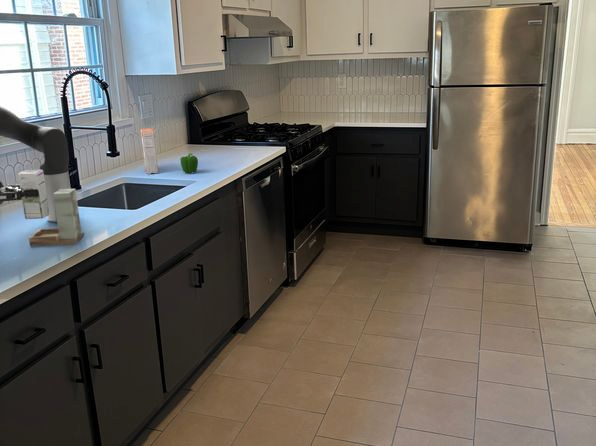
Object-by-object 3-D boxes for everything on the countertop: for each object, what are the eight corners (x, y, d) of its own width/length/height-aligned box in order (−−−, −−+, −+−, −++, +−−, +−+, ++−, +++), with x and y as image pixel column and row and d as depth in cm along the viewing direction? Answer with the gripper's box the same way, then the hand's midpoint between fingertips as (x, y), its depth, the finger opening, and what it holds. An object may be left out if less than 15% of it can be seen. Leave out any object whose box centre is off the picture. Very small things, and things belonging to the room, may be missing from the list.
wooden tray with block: (40, 236, 193) (32, 189, 188) (84, 235, 194) (77, 187, 189) (30, 245, 185) (21, 195, 180) (75, 243, 185) (68, 194, 180)
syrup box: (50, 213, 185) (43, 168, 181) (43, 219, 180) (36, 172, 175) (32, 214, 185) (24, 169, 181) (24, 219, 179) (16, 173, 175)
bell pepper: (179, 172, 289) (177, 152, 286) (195, 170, 292) (194, 150, 289) (183, 175, 281) (182, 154, 279) (200, 173, 285) (199, 153, 282)
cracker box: (144, 169, 297) (140, 128, 291) (156, 168, 299) (152, 127, 293) (146, 174, 284) (141, 132, 278) (158, 173, 286) (154, 131, 280)
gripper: (-27, 186, 170) (33, 183, 172) (-10, 176, 184) (46, 173, 186) (-23, 211, 172) (37, 208, 175) (-5, 199, 186) (49, 196, 188)
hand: (41, 190), depth 180 cm, fingers closed on syrup box, 6 cm apart
